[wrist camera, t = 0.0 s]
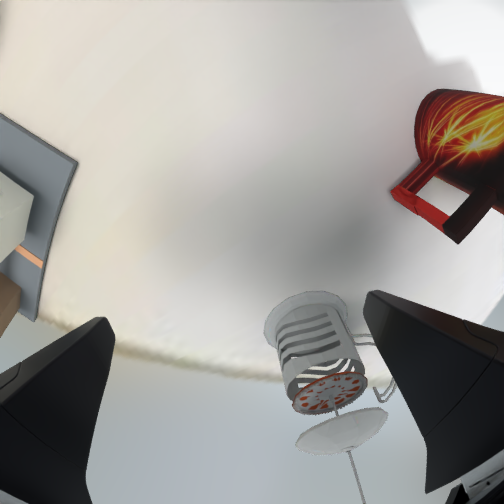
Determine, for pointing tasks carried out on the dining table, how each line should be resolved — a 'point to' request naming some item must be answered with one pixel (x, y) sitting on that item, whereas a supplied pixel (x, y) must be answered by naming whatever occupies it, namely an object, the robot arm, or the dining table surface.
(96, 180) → the dining table surface
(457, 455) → the robot arm
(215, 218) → the dining table surface
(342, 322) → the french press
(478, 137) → the mug
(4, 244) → the sleeve
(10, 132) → the rod stand
